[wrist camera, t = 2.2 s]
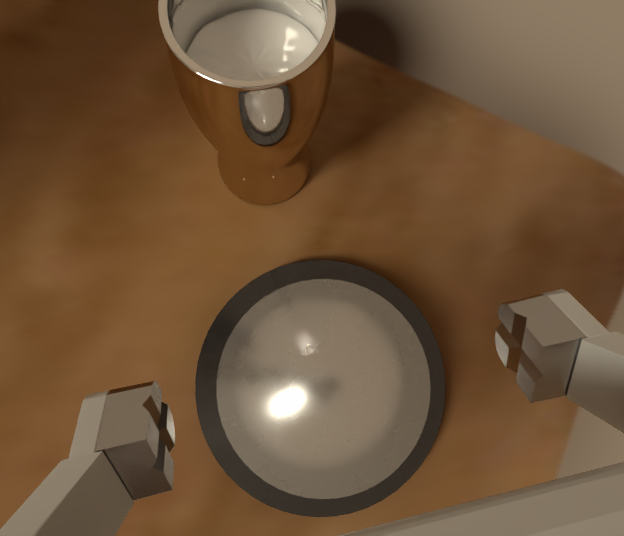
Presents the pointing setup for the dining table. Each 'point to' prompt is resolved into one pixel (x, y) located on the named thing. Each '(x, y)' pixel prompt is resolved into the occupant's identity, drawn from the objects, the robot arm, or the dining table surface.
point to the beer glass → (254, 84)
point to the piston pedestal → (320, 388)
